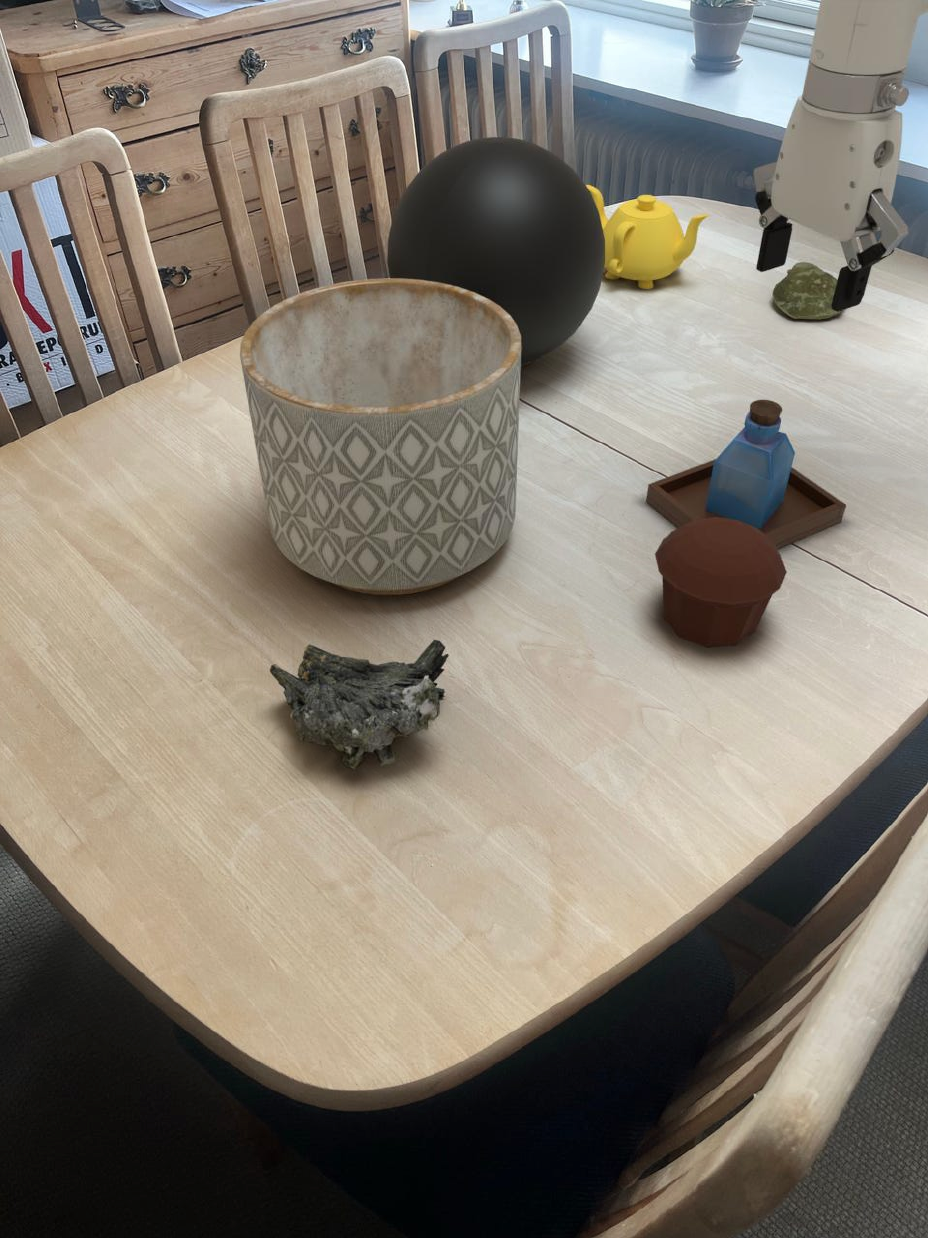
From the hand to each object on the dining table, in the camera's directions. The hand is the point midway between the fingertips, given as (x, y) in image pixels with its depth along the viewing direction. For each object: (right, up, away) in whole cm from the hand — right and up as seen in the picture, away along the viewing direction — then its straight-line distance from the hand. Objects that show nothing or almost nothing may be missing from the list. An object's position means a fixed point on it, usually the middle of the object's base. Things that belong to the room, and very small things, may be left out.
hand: (806, 286), depth 94 cm
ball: (-28, +4, +40) cm, 49 cm away
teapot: (-6, +20, +58) cm, 62 cm away
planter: (-39, -22, +13) cm, 47 cm away
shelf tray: (-2, -19, +15) cm, 24 cm away
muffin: (-9, -31, +3) cm, 32 cm away
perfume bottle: (-2, -19, +14) cm, 24 cm away
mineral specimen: (-40, -40, -6) cm, 57 cm away
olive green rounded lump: (+17, +14, +51) cm, 55 cm away
